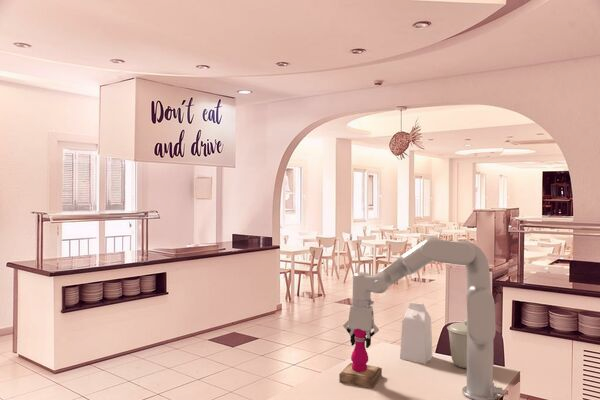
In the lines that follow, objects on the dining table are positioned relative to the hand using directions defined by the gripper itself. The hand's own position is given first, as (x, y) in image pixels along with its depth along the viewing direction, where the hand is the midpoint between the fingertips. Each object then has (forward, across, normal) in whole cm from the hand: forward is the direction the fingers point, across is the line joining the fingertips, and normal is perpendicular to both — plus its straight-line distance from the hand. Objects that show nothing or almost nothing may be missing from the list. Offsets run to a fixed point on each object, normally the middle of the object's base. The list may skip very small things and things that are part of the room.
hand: (360, 345), depth 195 cm
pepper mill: (+10, 0, 0) cm, 10 cm away
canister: (+14, -40, -37) cm, 56 cm away
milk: (+14, -16, -37) cm, 43 cm away
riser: (+14, 0, 0) cm, 14 cm away
